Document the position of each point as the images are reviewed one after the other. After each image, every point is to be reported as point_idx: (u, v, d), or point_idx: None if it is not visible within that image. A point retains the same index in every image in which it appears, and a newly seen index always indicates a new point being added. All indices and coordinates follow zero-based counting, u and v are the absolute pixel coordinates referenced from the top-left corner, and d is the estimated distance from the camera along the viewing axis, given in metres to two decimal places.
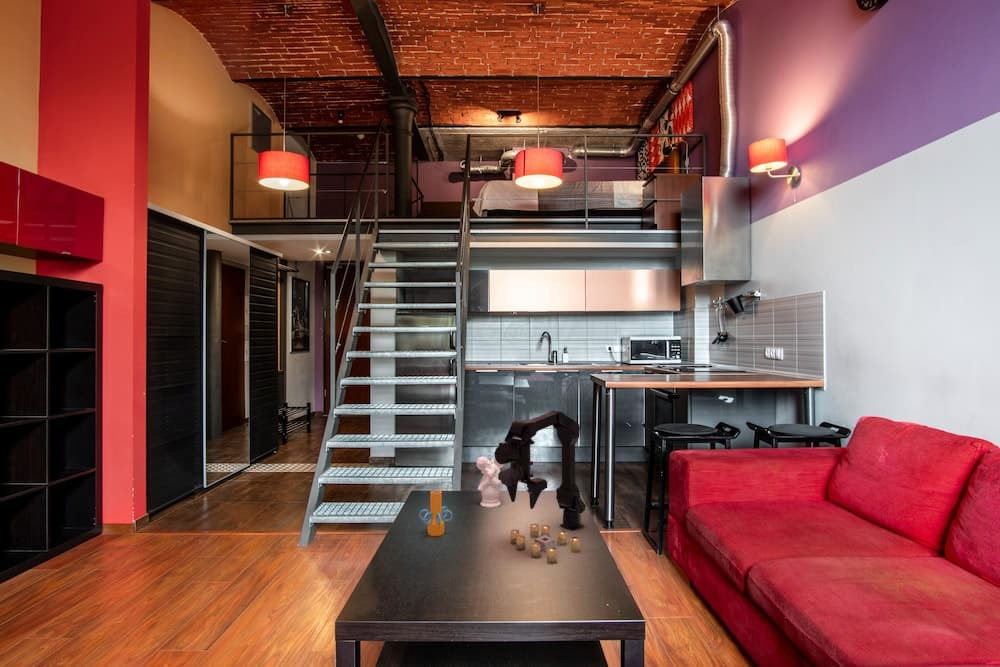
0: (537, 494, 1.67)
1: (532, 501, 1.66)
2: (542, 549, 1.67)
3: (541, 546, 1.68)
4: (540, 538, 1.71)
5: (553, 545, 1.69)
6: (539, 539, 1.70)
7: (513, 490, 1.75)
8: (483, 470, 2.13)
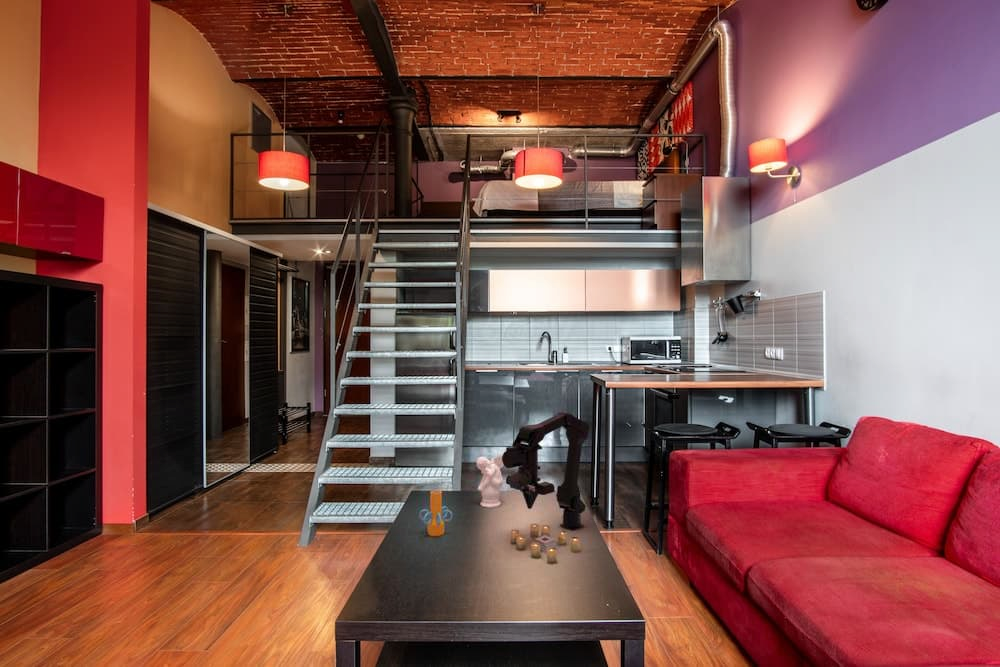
0: (535, 495, 1.75)
1: (530, 501, 1.74)
2: (542, 549, 1.67)
3: (541, 546, 1.68)
4: (540, 538, 1.71)
5: (553, 545, 1.69)
6: (539, 539, 1.70)
7: None
8: (483, 470, 2.13)
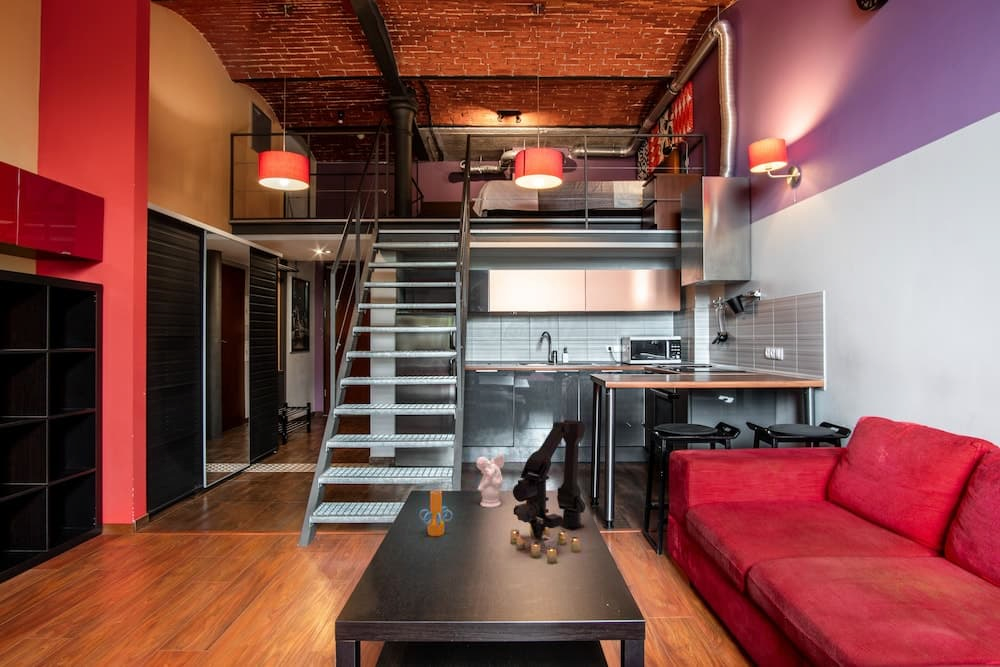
0: (543, 526, 1.72)
1: (538, 533, 1.71)
2: (542, 549, 1.67)
3: (541, 546, 1.68)
4: (540, 538, 1.71)
5: (553, 545, 1.69)
6: (539, 539, 1.70)
7: None
8: (483, 470, 2.13)
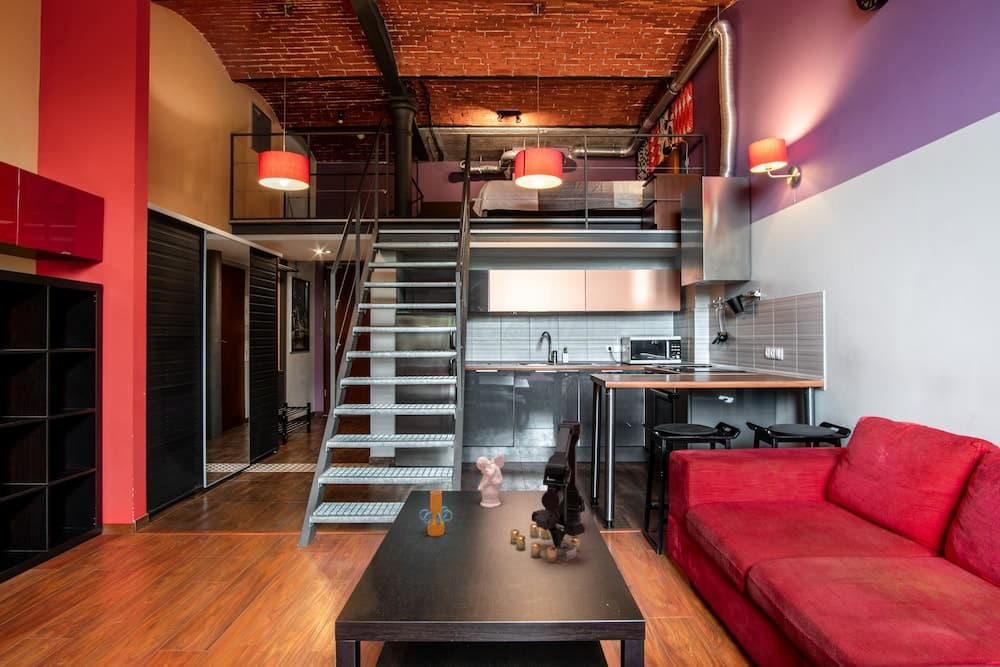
0: (563, 534, 1.65)
1: (558, 541, 1.65)
2: (563, 558, 1.61)
3: (562, 555, 1.61)
4: (560, 546, 1.64)
5: (574, 553, 1.62)
6: (559, 547, 1.63)
7: None
8: (483, 470, 2.13)
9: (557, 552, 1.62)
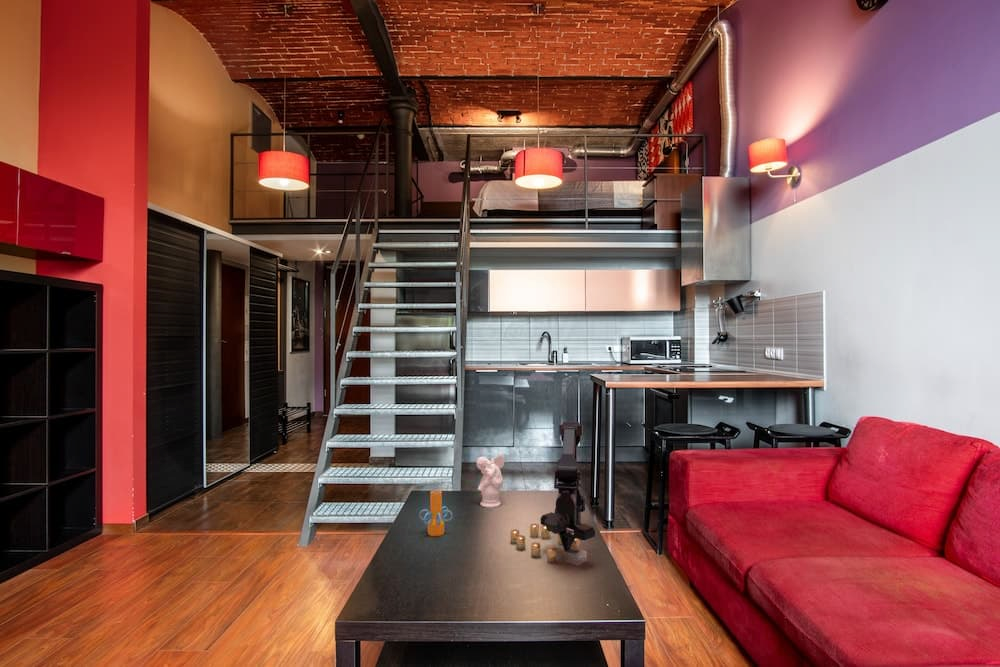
0: (573, 538, 1.62)
1: (568, 545, 1.62)
2: (573, 562, 1.58)
3: (572, 559, 1.58)
4: (570, 550, 1.61)
5: (584, 557, 1.59)
6: (569, 551, 1.60)
7: None
8: (483, 470, 2.13)
9: (567, 556, 1.59)
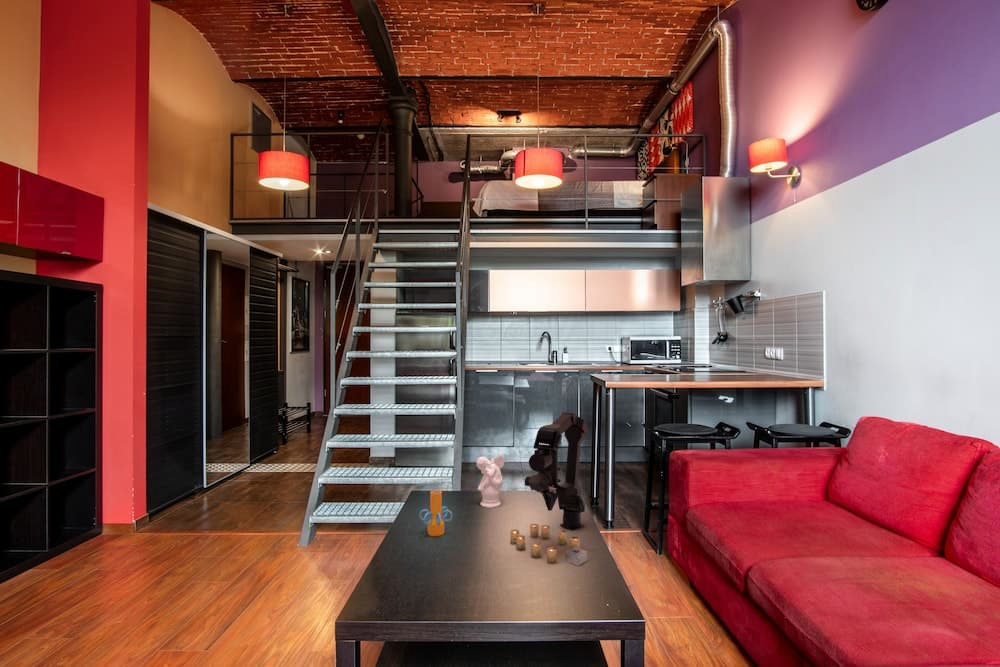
0: (555, 496, 1.71)
1: (551, 503, 1.71)
2: (574, 562, 1.58)
3: (573, 559, 1.58)
4: (570, 550, 1.61)
5: (585, 557, 1.59)
6: (570, 551, 1.60)
7: None
8: (483, 470, 2.13)
9: (568, 556, 1.59)
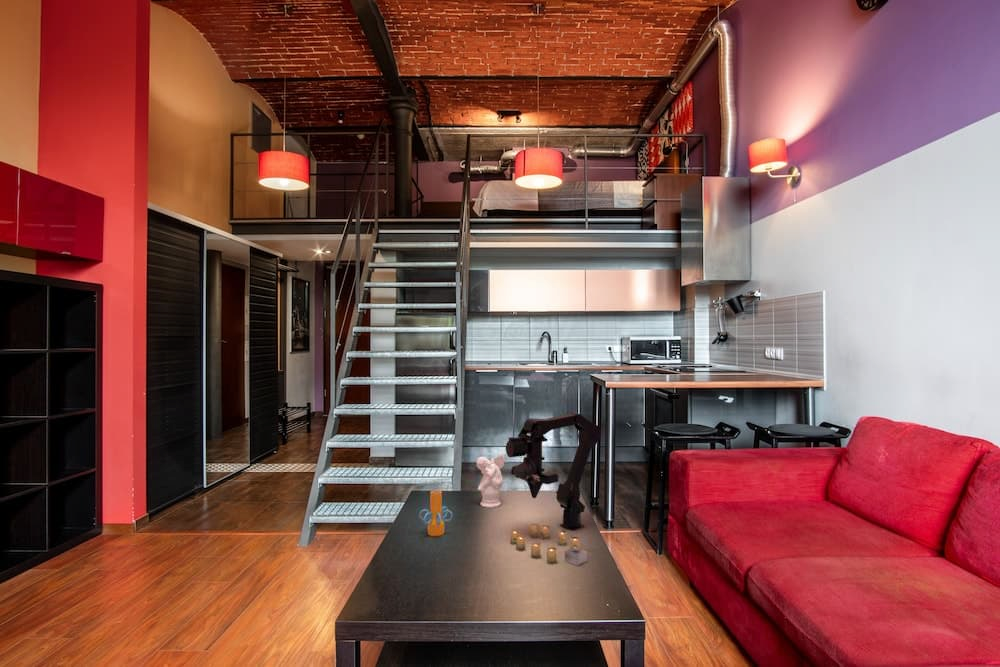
0: (539, 484, 1.82)
1: (535, 491, 1.81)
2: (574, 562, 1.58)
3: (573, 559, 1.58)
4: (570, 550, 1.61)
5: (585, 557, 1.59)
6: (570, 551, 1.60)
7: None
8: (483, 470, 2.13)
9: (568, 556, 1.59)
